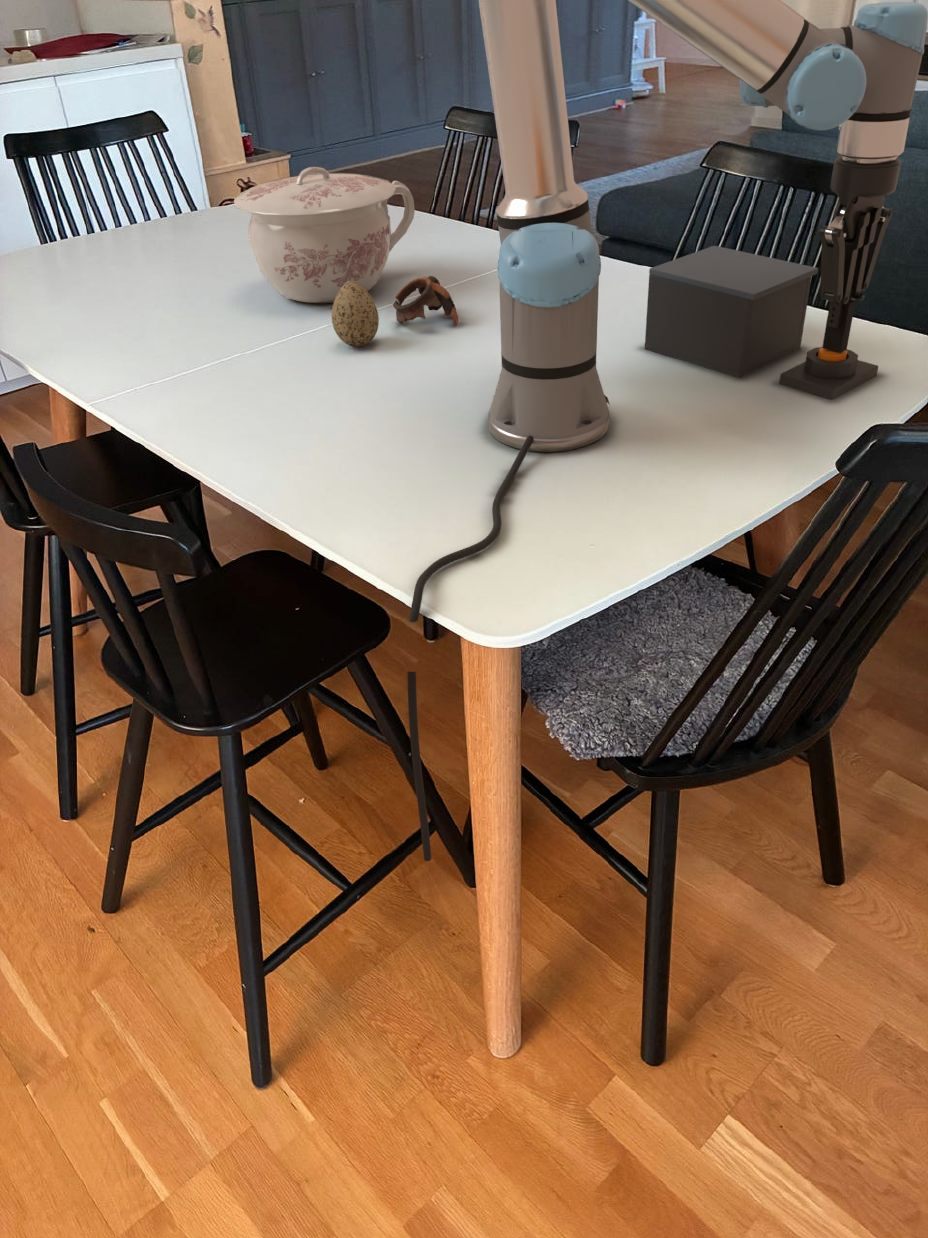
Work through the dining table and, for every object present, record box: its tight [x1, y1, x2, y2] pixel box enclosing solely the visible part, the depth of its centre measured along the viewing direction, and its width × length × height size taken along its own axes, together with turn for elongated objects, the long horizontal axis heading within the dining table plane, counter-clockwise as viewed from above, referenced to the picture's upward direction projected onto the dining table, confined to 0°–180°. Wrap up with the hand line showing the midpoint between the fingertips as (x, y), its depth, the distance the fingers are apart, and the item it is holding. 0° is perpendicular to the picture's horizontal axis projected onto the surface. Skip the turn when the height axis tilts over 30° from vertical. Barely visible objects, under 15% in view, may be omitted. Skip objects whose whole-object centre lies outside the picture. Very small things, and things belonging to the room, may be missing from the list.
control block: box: [778, 346, 879, 401], centre depth 131 cm, size 8×11×4 cm
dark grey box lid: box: [648, 245, 819, 300], centre depth 136 cm, size 18×15×1 cm
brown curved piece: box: [392, 275, 460, 327], centre depth 157 cm, size 12×10×8 cm
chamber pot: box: [233, 166, 416, 304], centre depth 168 cm, size 28×28×21 cm
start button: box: [818, 346, 847, 361], centre depth 130 cm, size 4×4×2 cm
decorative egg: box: [331, 281, 380, 348], centre depth 149 cm, size 7×7×10 cm
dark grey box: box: [644, 274, 813, 379], centre depth 140 cm, size 17×15×11 cm
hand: (834, 348), depth 129 cm, fingers closed
